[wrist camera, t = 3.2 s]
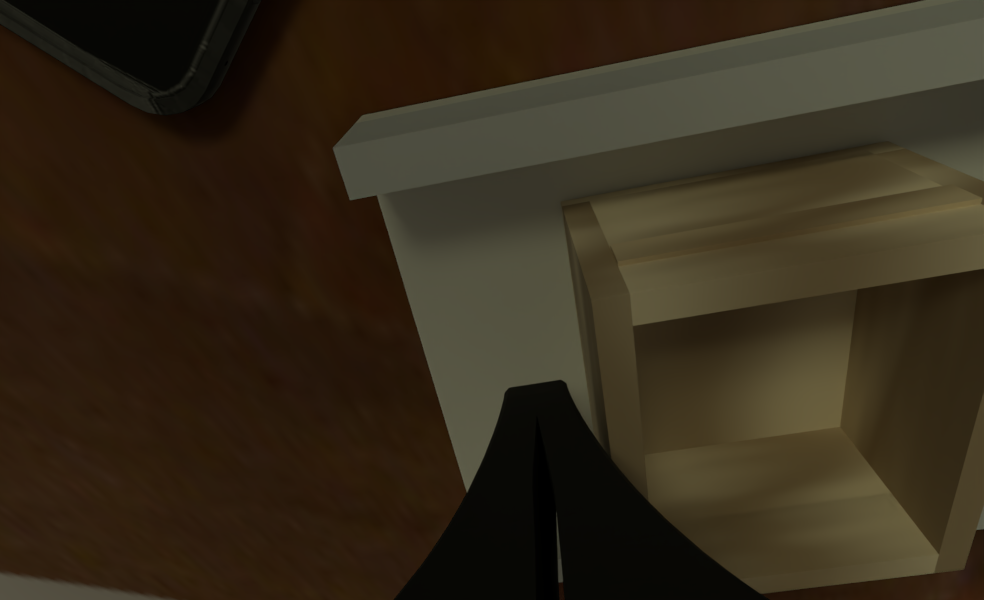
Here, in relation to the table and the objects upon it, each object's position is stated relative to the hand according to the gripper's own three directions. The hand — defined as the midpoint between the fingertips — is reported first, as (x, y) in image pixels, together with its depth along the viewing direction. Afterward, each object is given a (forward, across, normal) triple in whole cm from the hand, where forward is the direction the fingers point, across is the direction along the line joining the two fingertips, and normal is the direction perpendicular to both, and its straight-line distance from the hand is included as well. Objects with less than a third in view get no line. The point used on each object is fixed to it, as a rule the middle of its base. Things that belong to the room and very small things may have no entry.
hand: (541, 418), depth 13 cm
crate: (+2, -5, 0) cm, 5 cm away
